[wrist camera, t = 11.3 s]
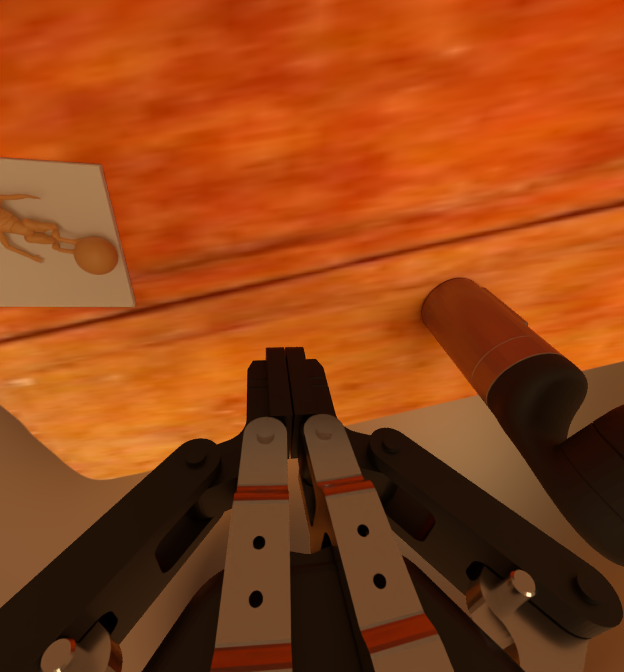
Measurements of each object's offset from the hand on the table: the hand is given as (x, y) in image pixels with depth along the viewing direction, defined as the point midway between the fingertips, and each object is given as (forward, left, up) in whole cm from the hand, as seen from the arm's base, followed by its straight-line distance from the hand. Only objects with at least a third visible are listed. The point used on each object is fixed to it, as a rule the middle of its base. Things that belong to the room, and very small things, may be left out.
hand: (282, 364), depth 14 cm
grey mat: (+24, +6, -29) cm, 38 cm away
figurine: (+16, +7, -24) cm, 30 cm away
